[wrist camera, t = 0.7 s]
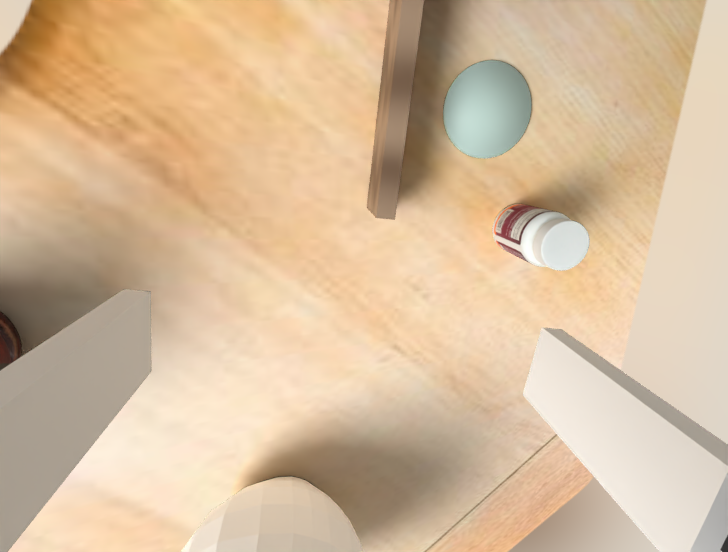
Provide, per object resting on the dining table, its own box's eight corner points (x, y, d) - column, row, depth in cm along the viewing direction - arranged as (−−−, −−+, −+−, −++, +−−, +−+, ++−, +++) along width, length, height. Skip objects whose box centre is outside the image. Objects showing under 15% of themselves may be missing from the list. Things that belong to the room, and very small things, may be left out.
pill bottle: (542, 239, 39) (599, 261, 31) (497, 257, 39) (544, 284, 31) (531, 195, 37) (589, 206, 29) (485, 214, 37) (530, 230, 29)
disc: (451, 54, 33) (452, 53, 33) (538, 68, 34) (540, 67, 34) (436, 152, 35) (437, 153, 35) (518, 162, 36) (520, 162, 36)
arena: (396, -62, 30) (415, -113, 24) (601, -22, 32) (661, -59, 27) (366, 207, 36) (376, 217, 30) (541, 224, 38) (580, 237, 33)
